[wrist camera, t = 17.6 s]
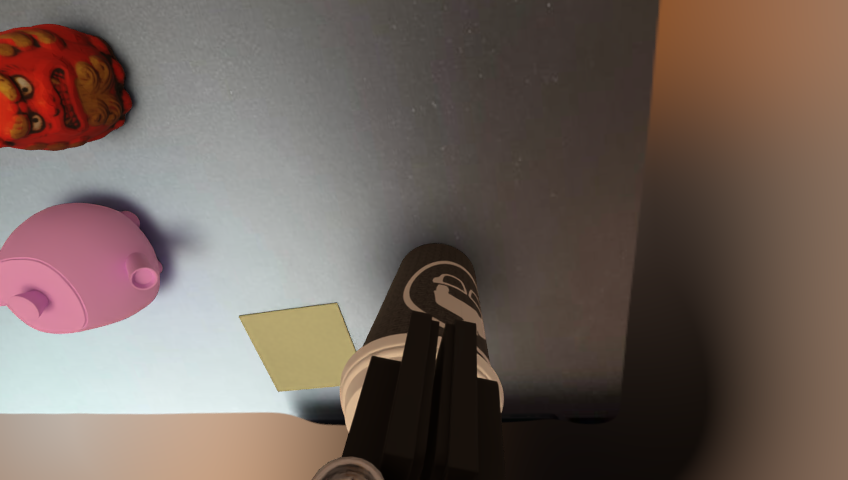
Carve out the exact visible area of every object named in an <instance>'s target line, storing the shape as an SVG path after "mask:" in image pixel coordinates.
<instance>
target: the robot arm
mask: <svg viewBox="0 0 848 480" xmlns="http://www.w3.org/2000/svg"><path fill="white" fill-rule="evenodd" d="M432 316H433V315H432V314H429V313H424V312H419V311H414V310H412V313H411V318H410V323H409V327H408V332H407V337H406V342H405V346H404V351H403V356H402V361H396V360H392V359H387V358H382V357H377V356H372V357H371V359H370V363H369V366H368V369H367V373H366V376H365V380H364V383H363V386H362V390H361V393H360V397H359V400H358V403H357V407H356V410H355V414H354V417H353V420H352V424H351V427H350V431H349V434H348V438H347V441H346V445H345V448H344V451H343V455H342V457H340V458H338V459H335V460H332V461H330V462H328V463H327V464H326V465H324V466H323V467H322V468H320V469H319V470H318V472H317V473H316V475H315V476H314V477H313V479H312V480H506V477H505V463H504V450H503V436H502V422H501V408H500V394H499V385H498V382H497V381H493V380H488V379H483V378H478V377H477V327H476V323H472V322H467V321H462V320H458V319H455V320H454V323H453V324H449V323H446V324H445V327H444V331H443V335H442V339H441V342H440V346H439V350H438V354H437V358H436V353H437V343H438V334H439V324H440V322H439V321H434V320H432Z"/></svg>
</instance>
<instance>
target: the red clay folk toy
mask: <svg viewBox="0 0 848 480" xmlns="http://www.w3.org/2000/svg"><path fill="white" fill-rule="evenodd" d="M125 78H126V75H125V72H124V70H123V67H122V66H121V64H120V63H119V62H118V60H117V59H116V57H115V56H114V54H113V52H112V50H111V48H110V46H109V45H108V44H107V43H106V42H105V41H104V40H103V39H101V38H99V37H97V36H92V35H88V34H85V33H82V32H79V31H77V30H74V29H70V28H68V27H64V26H61V25H56V24H42V25H36V26H32V27H20V28H13V29H10V30H7V31H3V32H0V148H2V147H12V148H18V149H25V150H50V151H58V150H64V149H67V148H73V147H78V146H82V145H84V144H85V143H87V142H91V141H94V140H98V139H101V138H103V137H105V136H106V135H107V134H109V133H110V132H111V131H113V130H115V129H118V128H119V127H121V126H123V124H124V122H125V114H126V113H127V112H128V111H130V110H131V107H132V101H131V98H130V95H129V94H128V92H127V91H126V90H125V89H124V80H125Z"/></svg>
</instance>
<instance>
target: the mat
mask: <svg viewBox="0 0 848 480" xmlns="http://www.w3.org/2000/svg"><path fill="white" fill-rule="evenodd" d="M239 318H240V320H241V322H242V324H243V326H244V328H245V330H246V331H247V333H248V335H249V337H250V339H251V341H252V343H253V345H254V347H255V349H256V351H257V352H258V354H259V356H260V358H261V360H262V362H263V364H264V366H265V368H266V370H267V371H268V373H269V375H270V377H271V379H272V381H273V383H274V385H275V387H276V389H277V391H278V392H280V391H291V390H301V389H312V388H323V387H334V386H340V380H341V375H342V372H343V369H344V367H345V365H346V363H347V362H348V360H349V359H350V358H351V357H352V355H353V354H354V353H355V352H356V350H355V348H354V345H353V342H352V340H351V337H350V335H349V332H348V330H347V327H346V324H345V322H344V319H343V317H342V314H341V312H340V309H339V306H338V304H337V303H331V304H323V305H316V306H308V307H301V308H294V309H286V310H279V311H271V312H264V313H256V314H249V315H241V316H239Z"/></svg>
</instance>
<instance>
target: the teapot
mask: <svg viewBox="0 0 848 480" xmlns="http://www.w3.org/2000/svg"><path fill="white" fill-rule="evenodd" d="M139 227H140V221H139V219H138V218H137V216H136V215H135V214H133V213H132V212H129V211H122V212H119V211H117V210H114V209H112V208H108V207H105V206H101V205H96V204H88V203H66V204H60V205H55V206H52V207H49V208H46V209H44V210H42V211H40V212H38V213H36V214H34V215H33V216H31V217H30V218H28V219H27V220H26V221H24V222H23V223H22V224H21V225H20V226H19V227H17V228H16V229H15V230H14V231H13V233H12V234H11V235H10V236H9V238H8V239H7V240H6V242H5V243H4V245H3V247H2V248H1V250H0V306H6V305H7V307H8V308H9V309H10V310H11V311H12V312H13V313H14V314H15V315H16V316H17V317H18V318H19V319H21V320H22V321H23V322H24V323H26V324H27V325H29V326H30V327H32V328H34V329H36V330H39V331H42V332H46V333H54V334H63V333H74V332H80V331H85V330H89V329H94V328H98V327H102V326H106V325H109V324H112V323H115V322H118V321H121V320H123V319H126V318H128V317H130V316H132V315H134V314H136V313H137V312H139V311H140V310H142V309H143V308H145V307H146V306H148V305H149V304H150V303H151V302H152V301H153V300H154V299H155V297H156V295H157V293H158V290H159V286H160V273H161V272H162V270H163V268H162V265H161V263H160V262H159V261H158V260H157V257H156V254H155V252H154V249H153V247H152V246H151V244H150V242H149V241H148V239H147V238H146V236H145V235H144V234H143V232H142V231H141V230H140V229H139Z"/></svg>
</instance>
